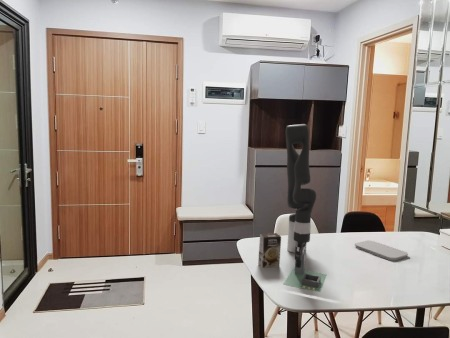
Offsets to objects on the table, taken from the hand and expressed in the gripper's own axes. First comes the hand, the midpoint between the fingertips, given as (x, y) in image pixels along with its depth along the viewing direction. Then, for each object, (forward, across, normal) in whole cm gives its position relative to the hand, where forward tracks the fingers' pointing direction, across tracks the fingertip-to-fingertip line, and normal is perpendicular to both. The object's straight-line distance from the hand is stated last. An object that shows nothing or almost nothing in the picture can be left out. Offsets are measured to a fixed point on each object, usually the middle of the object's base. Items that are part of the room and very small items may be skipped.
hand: (300, 264), depth 170 cm
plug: (+4, 0, 0) cm, 4 cm away
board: (+5, +6, +4) cm, 9 cm away
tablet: (+6, -54, +35) cm, 65 cm away
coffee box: (+5, -3, -16) cm, 17 cm away
